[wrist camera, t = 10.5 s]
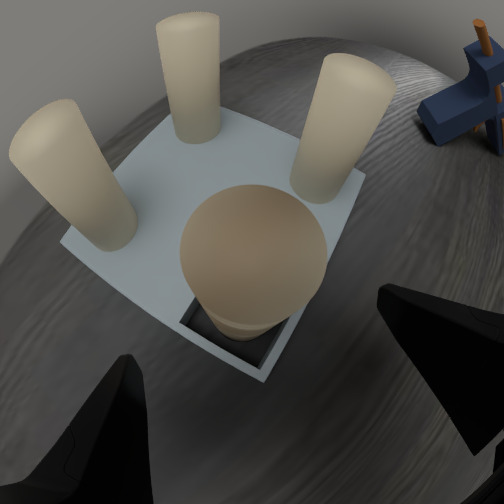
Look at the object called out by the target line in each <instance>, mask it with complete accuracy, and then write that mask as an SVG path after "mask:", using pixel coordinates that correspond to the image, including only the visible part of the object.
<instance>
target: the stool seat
mask: <svg viewBox="0 0 504 504" xmlns="http://www.w3.org/2000/svg"><path fill="white" fill-rule="evenodd" d="M156 31H157V37H158V44H159V50H160V56H161V62H162V68H163V73H164V79H165V84H166V90H167V95H168V100H169V105H170V110H171V114H170V115H169V116H168V117H166V118H165V119H164V120H163V121H162V122H161V123H160V124H159V125H158V126H157V127H156V128H155V129H154V130H153V131H152V132H151V133H150V134H149V135H148V136H147V137H146V138H145V139H144V140H143V141H142V142H141V143H140V144H139V145H138V146H137V147H136V148H135V149H134V150H133V151H132V152H131V153H130V154H129V155H128V156H127V158H126V159H125V160H124V161H123V162H122V163H121V164H120V165H119V166H118V168H117V169H116V170H115V171H114V172H113V173H112V171H111V169H110V167H109V166H108V164H107V162H106V160H105V158H104V157H103V155H102V153H101V151H100V149H99V147H98V146H97V144H96V142H95V140H94V138H93V137H92V134H91V132H90V130H89V128H88V126H87V124H86V122H85V120H84V119H83V117H82V114H81V112H80V111H79V108H78V106H77V104H76V103H75V102H74V101H73V100H71V99H61V100H57V101H54V102H52V103H49V104H47V105H45V106H44V107H42V108H41V109H39V110H38V111H36V112H35V113H34V114H33V115H32V116H31V117H30V118H28V119H27V120H26V121H25V122H24V124H23V125H22V126H21V127H20V129H19V130H18V131H17V133H16V135H15V136H14V138H13V140H12V143H11V145H10V149H9V158H10V160H11V161H12V162H13V164H14V165H15V166H16V167H17V168H18V169H19V171H20V172H21V173H22V174H23V175H24V176H25V177H26V178H27V180H28V181H29V182H30V183H31V184H32V185H33V186H34V187H35V188H36V189H37V190H38V191H39V192H40V193H41V194H42V196H43V197H45V199H46V200H47V201H48V202H49V203H50V204H51V205H52V206H53V207H54V208H55V209H56V210H57V211H58V212H59V213H60V214H61V215H62V216H63V217H64V218H65V219H66V220H67V221H68V222H70V223H71V224H72V225H71V227H70V228H69V229H68V231H67V232H66V234H65V235H64V237H63V238H62V240H61V241H60V243H61V244H62V245H63V246H65V247H66V248H67V249H68V250H69V251H70V252H71V253H73V254H74V255H75V256H76V257H77V258H78V259H80V260H81V261H82V262H83V263H84V264H85V265H87V266H88V267H89V268H90V269H91V270H93V271H94V272H95V273H96V274H98V275H99V276H100V277H101V278H103V279H104V280H105V281H106V282H108V283H109V284H110V285H112V286H113V287H114V288H115V289H117V290H118V291H119V292H121V293H122V294H123V295H125V296H126V297H127V298H129V299H130V300H131V301H133V302H134V303H135V304H137V305H138V306H140V307H141V308H142V309H144V310H145V311H147V312H148V313H149V314H151V315H152V316H154V317H155V318H157V319H158V320H160V321H161V322H162V323H164V324H165V325H167V326H168V327H170V328H171V329H173V330H174V331H176V332H178V333H179V334H181V335H182V336H184V337H185V338H187V339H188V340H190V341H192V342H193V343H195V344H196V345H198V346H200V347H201V348H203V349H205V350H206V351H208V352H209V353H211V354H213V355H215V356H216V357H218V358H220V359H221V360H223V361H225V362H227V363H228V364H230V365H232V366H234V367H235V368H237V369H239V370H241V371H243V372H244V373H246V374H248V375H250V376H252V377H254V378H256V379H257V380H259V381H261V382H263V383H264V382H265V380H266V378H267V377H268V375H269V373H270V372H271V370H272V368H273V366H274V365H275V363H276V361H277V359H278V358H279V356H280V354H281V352H282V350H283V349H284V347H285V345H286V343H287V341H288V340H289V338H290V336H291V334H292V332H293V330H294V329H295V327H296V325H297V323H298V321H299V319H300V317H301V315H302V313H303V312H304V310H305V308H306V306H307V304H308V303H307V304H306V305H304V306H303V307H302V308H301V309H300V310H298V311H297V312H295V313H294V314H292V315H291V316H289V317H288V318H286V319H285V320H284V321H283V323H282V325H281V326H280V328H279V330H278V332H277V334H276V335H275V337H274V339H273V341H272V342H271V344H270V346H269V348H268V350H267V351H266V353H265V355H264V356H263V358H262V360H261V362H260V363H259V365H258V367H257V368H256V367H254V366H252V365H251V364H249V363H247V362H245V361H243V360H242V359H240V358H238V357H236V356H234V355H233V354H231V353H229V352H228V351H226V350H224V349H222V348H221V347H219V346H217V345H216V344H214V343H212V342H211V341H209V340H207V339H206V338H204V337H202V336H201V335H199V334H197V333H196V332H194V331H193V330H191V329H190V328H188V327H186V324H187V323H188V321H189V320H190V318H191V316H192V315H193V313H194V312H195V310H196V308H197V307H198V305H199V304H200V303H199V301H198V300H197V298H196V297H195V295H194V293H193V292H192V290H191V289H190V287H189V285H188V283H187V282H186V280H185V277H184V274H183V272H182V267H181V263H180V242H181V237H182V233H183V230H184V228H185V225H186V223H187V221H188V219H189V218H190V216H191V215H192V213H193V212H194V211H195V210H196V209H197V207H198V206H199V205H200V204H201V203H203V202H204V201H205V200H206V199H207V198H209V197H211V196H212V195H214V194H215V193H217V192H220V191H222V190H224V189H227V188H230V187H234V186H239V185H248V184H254V185H265V186H269V187H274V188H277V189H279V190H282V191H284V192H286V193H288V194H290V195H292V196H293V197H295V198H297V199H298V200H299V201H301V202H302V203H303V204H304V205H305V206H306V207H307V208H308V209H309V210H310V211H311V212H312V214H313V215H314V216H315V218H316V219H317V221H318V223H319V224H320V226H321V228H322V231H323V233H324V236H325V240H326V245H327V263H328V261H329V259H330V257H331V255H332V252H333V250H334V248H335V246H336V244H337V242H338V239H339V237H340V235H341V233H342V230H343V228H344V226H345V224H346V221H347V219H348V217H349V214H350V212H351V210H352V207H353V205H354V203H355V200H356V198H357V195H358V193H359V190H360V188H361V186H362V183H363V181H364V178H365V176H366V174H364V173H362V172H360V171H359V170H357V169H355V168H353V167H354V166H355V164H356V162H357V161H358V159H359V157H360V156H361V154H362V152H363V150H364V149H365V147H366V145H367V143H368V142H369V140H370V138H371V136H372V135H373V133H374V131H375V129H376V128H377V126H378V124H379V122H380V120H381V119H382V117H383V115H384V113H385V111H386V110H387V108H388V106H389V104H390V102H391V100H392V99H393V97H394V95H395V93H396V90H397V88H396V84H395V82H394V81H393V79H392V78H391V77H390V76H389V75H388V74H387V73H386V72H385V71H384V70H383V69H381V68H380V67H378V66H377V65H375V64H374V63H372V62H370V61H368V60H365V59H363V58H361V57H358V56H354V55H350V54H344V53H334V54H330V55H328V56H326V57H325V59H324V62H323V65H322V69H321V72H320V76H319V79H318V82H317V86H316V89H315V93H314V96H313V100H312V103H311V106H310V110H309V113H308V117H307V120H306V123H305V127H304V130H303V133H302V137H301V140H300V139H297V138H295V137H293V136H291V135H289V134H287V133H285V132H282V131H280V130H278V129H276V128H273V127H271V126H269V125H266V124H264V123H262V122H259V121H257V120H255V119H252V118H250V117H247V116H245V115H242V114H240V113H237V112H234V111H232V110H229V109H226V108H224V107H221V106H220V72H219V17H218V16H217V15H215V14H212V13H208V12H187V13H182V14H177V15H173V16H170V17H168V18H166V19H163V20H162V21H160V22H159V23H158V24H157V25H156Z"/></svg>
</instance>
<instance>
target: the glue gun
mask: <svg viewBox="0 0 504 504" xmlns="http://www.w3.org/2000/svg"><path fill="white" fill-rule="evenodd" d="M473 24H474V27H475V30H476V33H477V35H478V39H479V40H478V41H476V42H474V43H472V44H470V45H468V46H466V47H465V48H463V49H464V51H465V54H466V57H467V60H468V63H469V67H470V71H469V74H468V76H467V77H466V78H465V79H464V80H462V81H460V82H459V83H457V84H455V85H453V86H450V87H448V88H446V89H444V90H442V91H440V92H438V93H436V94H434V95H432V96H430V97H428V98H426V99H424V100H422V102H421V104H420V106H419V108H418V110H417V113H418V115H419V116H420V118H421V120H422V121H423V123H424V124H425V126H426V128H427V129H428V131H429V133H430V134H431V136H432V138H433V139H434V141H435V143H436V144H437V146H441V145H443V144H445V143H446V142H448V141H450V140H452V139H454V138H455V137H457V136H459V135H461V134H462V133H464V132H466V131H468V130H470V129H471V128H473V130H474V131H475V133H476V131H477V130H478V128H479V127H480V126H481V125H482V124H483V123H484V122H485V125H486V131H487V137H488V138H489V140H490V142H491V143H492V145H493V147H494V148H495V150H496V152H497V154H498V155H501V154H502V153H504V87H503V86H502V85H501V83H503V82H504V49H503V48H502V47H501V46H500V45H498V43H496V42H495V41H494V40H493V39H492V38H491V37H490V36H489V35H488V32H487V29H486V26H485V23H484V21H482V20H480V19H475V20H473Z"/></svg>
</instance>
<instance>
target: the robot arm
mask: <svg viewBox="0 0 504 504" xmlns="http://www.w3.org/2000/svg"><path fill="white" fill-rule="evenodd" d="M377 308H378V311H379V312H380V314H381V316H382V317H383V319H384V321H385V322H386V324H387V326H388V327H389V329H390V331H391V332H392V334H393V336H394V337H395V339H396V340H397V342H398V343H399V345H400V346H401V347H402V349H403V350H404V351H405V353H406V354H407V356H408V357H409V358H410V360H411V361H412V363H413V364H414V365H415V367H416V368H417V370H418V371H419V372H420V374H421V375H422V377H423V378H424V379H425V381H426V382H427V384H428V385H429V387H430V388H431V390H432V391H433V393H434V394H435V396H436V397H437V399H438V400H439V402H440V403H441V405H442V406H443V408H444V409H445V411H446V412H447V414H448V415H449V417H451V418H450V419H451V420H452V422H453V423H454V425H455V426H456V428H457V430H458V431H459V433H460V435H461V436H462V438H463V439H464V441H465V443H466V444H467V446H468V448H469V449H470V451H471V453H472V454H473V455H474V456H475V455H477V454H478V453H479V452H480V451H481V450H482V449H483V448H484V447H485V446H486V445H487V444H488V443H489V442H490V441H491V440H492V439H493V438H494V437H495V436H496V435H497V434H498V433H499V432H500V431H501V430H502V429H503V431H504V314H499V313H494V312H490V311H485V310H482V309H478V308H474V307H471V306H467V305H464V304H460V303H457V302H453V301H450V300H446V299H443V298H439V297H436V296H432V295H429V294H425V293H422V292H418V291H415V290H411V289H407V288H404V287H400V286H397V285H393V284H389V283H388V284H385V285H382V286H380V287H379V290H378V298H377ZM69 425H70V426H68V427H67V428H66V429H65V431H64V432H63V434H62V435H61V436H60V438H59V439H58V441H57V442H56V443H55V445H54V446H53V447H52V448H51V449H50V451H49V452H48V453H47V454H46V456H45V457H44V458H43V459H42V460H41V462H40V463H39V464H38V465H37V466H36V468H35V469H34V470H33V471H32V472H31V474H30V475H29V476H28V477H26V478H25V479H24V480H22V481H20V482H17V483H13V484H8V485H4V486H0V504H154V503H153V495H152V486H151V475H150V463H149V447H148V423H147V408H146V400H145V392H144V383H143V375H142V371H141V369H140V367H139V366H138V364H137V362H136V361H135V359H134V357H133V356H132V355H131V354H126V355H121V356H119V357H118V359H117V360H116V361H115V363H114V364H113V365H112V367H111V368H110V369H109V370H108V372H107V373H106V374H105V376H104V377H103V378H102V380H101V381H100V382H99V384H98V385H97V387H96V388H95V389H94V391H93V392H92V393H91V395H90V396H89V397H88V399H87V400H86V402H85V403H84V404H83V406H82V407H81V408H80V410H79V411H78V413H77V414H76V415H75V417H74V418H73V420H72V421H71V422H70V424H69ZM461 504H504V439H503V440H502V441H501V442H500V443H499V444H498V445H497V446H496V451H495V460H494V467H493V474H492V475H491V476H490V477H489V478H488V479H487V480H486V481H485V482H484V483H483V484H482V485H481V486H480V487H479V488H478V489H477V490H476V491H474V492H473V493H472V494H471V495H470V496H469V497H468V498H466V499H465V500H464V501H463V502H462V503H461Z"/></svg>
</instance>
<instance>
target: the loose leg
mask: <svg viewBox="0 0 504 504" xmlns="http://www.w3.org/2000/svg"><path fill="white" fill-rule="evenodd" d="M180 263H181V267H182V272H183V274H184V277H185V280H186V282H187V283H188V285H189V287H190V289H191V290H192V292H193V293H194V295H195V297H196V298H197V300H198V301H199V303H200V304H201V305H202V307H203V308H204V310H205V311H206V313H207V314H208V316H209V317H210V319H211V320H212V322H213V323H214V324H215V326H216V327H217V329H218V330H219V331H220V333H221V334H222V335H224V336H225V337H226V338H228V339H230V340H233V341H238V342H245V341H250V340H253V339H255V338H256V337H258V336H260V335H261V334H263V333H264V332H266V331H268V330H269V329H271V328H272V327H274V326H275V325H277V324H278V323H280V322H282V321H283V320H285V319H286V318H288V317H289V316H291V315H292V314H294V313H295V312H297V311H298V310H300V309H301V308H302V307H303V306H304V305H306V304H307V303H308V302H309V301H310V300H311V298H312V297H313V296H314V295H315V293H316V292H317V290H318V289H319V287H320V285H321V283H322V280H323V278H324V275H325V271H326V266H327V245H326V240H325V236H324V233H323V231H322V228H321V226H320V224H319V223H318V221H317V219H316V218H315V216H314V215H313V214H312V212H311V211H310V210H309V209H308V208H307V207H306V206H305V205H304V204H303V203H302V202H301V201H299V200H298V199H297V198H295V197H293V196H292V195H290V194H288V193H286V192H284V191H282V190H279V189H277V188H274V187H269V186H265V185H254V184H248V185H239V186H234V187H230V188H227V189H224V190H222V191H220V192H217V193H215V194H214V195H212V196H211V197H209V198H207V199H206V200H205V201H204V202H203V203H201V204H200V205H199V206H198V207H197V209H196V210H195V211H194V212H193V213H192V215H191V216H190V218H189V219H188V221H187V223H186V225H185V228H184V230H183V233H182V237H181V242H180Z"/></svg>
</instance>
